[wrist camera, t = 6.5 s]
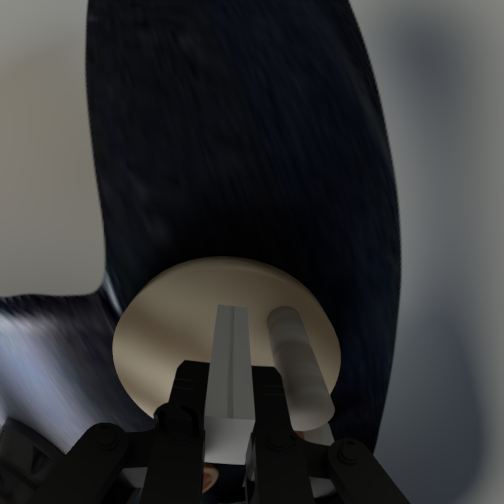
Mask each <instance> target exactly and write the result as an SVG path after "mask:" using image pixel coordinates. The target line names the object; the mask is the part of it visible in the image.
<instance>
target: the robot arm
mask: <svg viewBox="0 0 504 504" xmlns="http://www.w3.org/2000/svg"><path fill="white" fill-rule="evenodd" d="M153 417H154V422H155V427H156V428H154V429H152V430H149V431H144V432H128V433H126V432H125V431H124V430H123V429H122V428H121V427H119V426H118V425H115V424H112V423H98V424H95V425H93V426H92V427H90V428H89V429H88V430H87V431H86V432H85V433H84V434H83V436H82V437H81V438H80V439H79V440H78V441H77V443H76V444H75V445H74V446H73V447H72V448H71V450H70V451H69V452H68V453H67V454H66V456H64V455H63V454H62V453H61V452H60V451H59V450H58V449H57V448H55V447H54V446H53V445H52V444H51V443H49V442H48V441H47V440H45V439H44V438H43V437H41V436H40V435H39V434H37V433H36V432H35V431H33V430H32V429H30V428H28V427H27V426H25V425H24V424H22V423H20V422H18V421H16V420H13V419H7V420H6V422H5V423H4V425H3V426H2V429H1V436H0V504H133V502H134V500H135V498H136V497H137V495H138V493H139V492H140V490H141V488H143V490H142V495H141V499H140V504H202V494H203V481H204V462H211V463H222V464H241V465H245V461H246V474H245V478H244V481H243V486H242V487H245V496H246V504H410V502H409V501H408V500H407V499H406V497H405V496H404V495H403V494H402V492H401V491H400V490H399V488H398V487H397V486H396V485H395V484H394V482H393V481H392V479H391V478H390V477H389V476H388V474H387V473H386V472H385V470H384V469H383V468H382V467H381V465H380V464H379V463H378V461H377V460H376V459H375V457H374V456H373V455H372V453H371V452H370V451H369V449H368V448H367V447H366V446H365V445H364V444H363V443H362V442H360V441H357V440H355V439H349V438H345V439H339V440H337V441H335V442H333V443H332V444H331V446H328V445H322V444H316V443H312V442H308V441H306V440H304V439H302V438H301V437H299V436H298V434H297V433H296V432H295V431H294V430H293V428H292V425H291V420H290V415H289V410H288V405H287V401H286V396H285V391H284V387H283V381H282V376H281V374H280V373H279V372H278V371H277V369H276V368H275V367H273V366H253V365H251V355H250V342H249V327H248V313H247V307H240V306H230V305H220V304H218V307H217V315H216V322H215V329H214V337H213V345H212V353H211V361H210V363H208V362H199V361H191V360H184V361H183V362H182V363H181V364H180V365H179V366H178V367H177V370H176V374H175V379H174V381H173V385H172V389H171V393H170V397H169V401H168V402H167V403H164V404H162V405H161V406H159V407H158V408H157V409H156V410H155V412H154V414H153Z"/></svg>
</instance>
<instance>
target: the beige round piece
mask: <svg viewBox="0 0 504 504" xmlns="http://www.w3.org/2000/svg"><path fill="white" fill-rule="evenodd" d="M218 304H220V305H230V306H240V307H247V313H248V327H249V342H250V355H251V365H253V366H273V367H275V368H276V369H277V371H278V372H279V373H280V374H281V376H282V381H283V387H284V391H285V396H286V401H287V405H288V410H289V415H290V420H291V425H292V428H293V430H294V431H295V432H296V433H297V434H298V436H299V437H301V438H302V439H304V440H305V438H304V434H303V431H308V430H313V429H316V428H318V427H320V426H322V425H324V424H326V423H327V422H328V421H329V420H330V419H331V418H332V417H333V415H334V412H335V408H334V405H333V402H332V400H331V397H330V394H331V392H332V390H333V388H334V386H335V384H336V381H337V378H338V375H339V370H340V364H341V352H340V346H339V341H338V338H337V336H336V333H335V330H334V328H333V326H332V324H331V323H330V321H329V319H328V317H327V315H326V314H325V312H324V310H323V308H322V307H321V305H320V304H319V302H318V300H317V299H316V298H315V297H314V295H313V294H312V293H311V292H310V291H309V289H307V288H306V287H305V286H304V285H303V284H302V283H301V282H299V281H298V280H297V279H295V278H294V277H292V276H291V275H289V274H288V273H286V272H284V271H282V270H280V269H278V268H276V267H274V266H272V265H269V264H266V263H263V262H260V261H257V260H252V259H247V258H242V257H231V256H214V257H203V258H198V259H193V260H189V261H186V262H183V263H180V264H177V265H175V266H173V267H171V268H169V269H167V270H165V271H163V272H161V273H160V274H158V275H157V276H155V277H154V278H153V279H151V280H150V281H149V282H148V283H147V284H146V285H145V286H144V287H143V288H142V289H141V290H140V292H139V293H138V294H137V296H136V297H135V298H134V299H133V301H132V302H131V303H130V305H129V306H128V307H127V309H126V310H125V312H124V313H123V314H122V316H121V318H120V320H119V322H118V324H117V327H116V330H115V334H114V339H113V360H114V364H115V368H116V372H117V374H118V377H119V379H120V381H121V383H122V385H123V387H124V388H125V390H126V392H127V393H128V394H129V396H130V397H131V398H132V399H133V401H134V402H135V403H136V404H137V405H138V406H139V407H140V408H141V409H142V410H143V411H145V412H146V413H147V414H148V415H149V416H151V417H152V418H154V417H153V414H154V412H155V410H156V409H157V408H158V407H159V406H161V405H162V404H164V403H167V402H168V401H169V397H170V393H171V389H172V385H173V381H174V379H175V374H176V370H177V367H178V366H179V365H180V364H181V363H182V362H183V361H184V360H191V361H199V362H208V363H210V361H211V353H212V345H213V337H214V329H215V322H216V315H217V307H218Z"/></svg>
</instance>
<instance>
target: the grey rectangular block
mask: <svg viewBox="0 0 504 504" xmlns="http://www.w3.org/2000/svg"><path fill="white" fill-rule="evenodd" d="M303 434H304V438H305V440H306V441H308V442H312V443H316V444H322V445H328V446H331V444H332V443H333V442H334V439H333V436H332V433H331V429H330V426H329V424H328V423H326V424H324V425H322V426H320V427H318V428H316V429H313V430H308V431H303Z"/></svg>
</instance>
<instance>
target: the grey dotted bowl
mask: <svg viewBox="0 0 504 504" xmlns="http://www.w3.org/2000/svg"><path fill="white" fill-rule="evenodd" d="M219 504H246V500H239V501H234V502H229V503H223V502H222V503H219Z"/></svg>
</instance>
